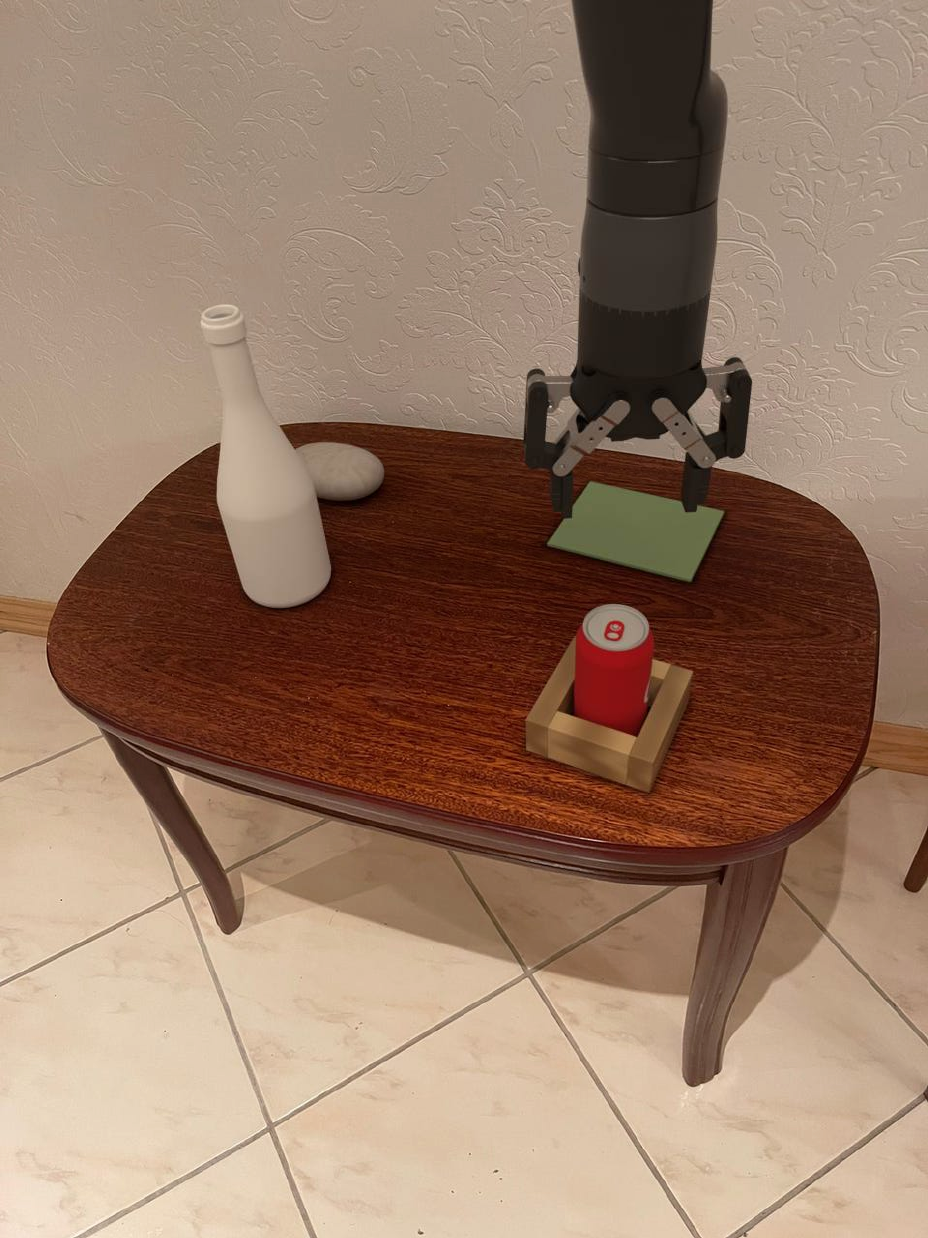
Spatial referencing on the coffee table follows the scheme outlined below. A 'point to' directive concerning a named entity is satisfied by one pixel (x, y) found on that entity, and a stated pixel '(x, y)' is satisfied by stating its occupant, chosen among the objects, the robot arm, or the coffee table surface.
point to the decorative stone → (341, 470)
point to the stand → (604, 746)
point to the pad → (638, 531)
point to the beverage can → (613, 668)
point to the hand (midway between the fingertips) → (627, 508)
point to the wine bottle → (262, 481)
